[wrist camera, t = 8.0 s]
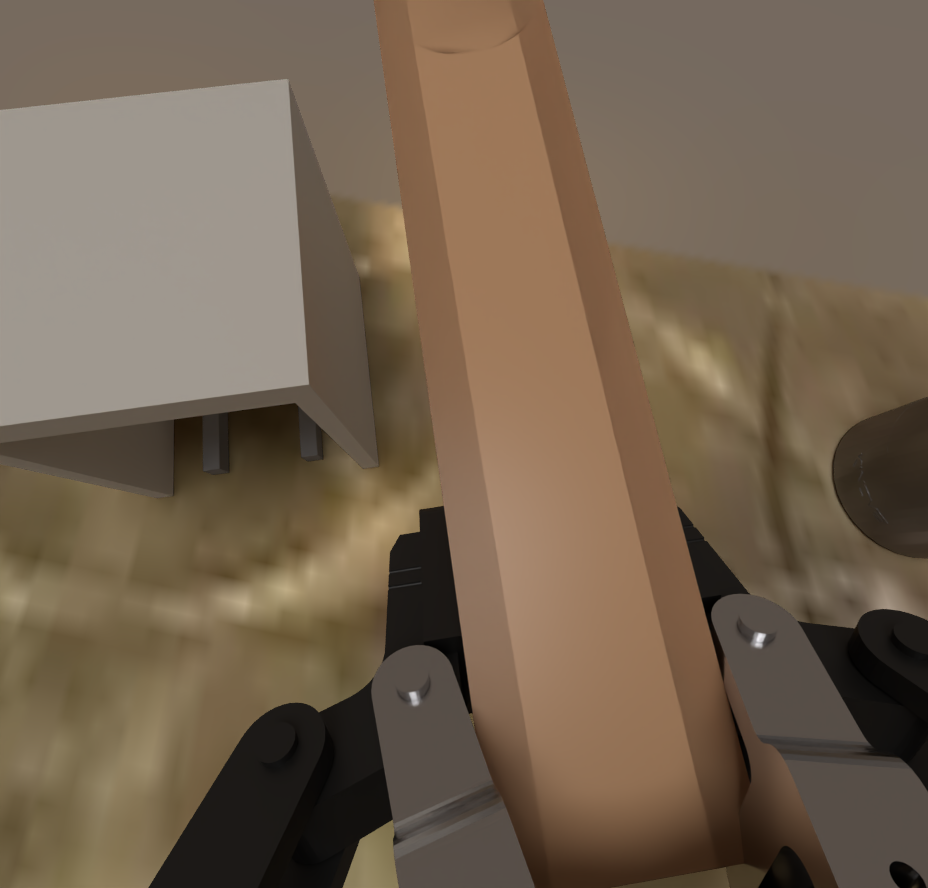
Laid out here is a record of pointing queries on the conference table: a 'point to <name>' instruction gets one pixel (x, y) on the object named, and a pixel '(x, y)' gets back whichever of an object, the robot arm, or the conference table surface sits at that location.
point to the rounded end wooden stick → (552, 467)
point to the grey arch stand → (171, 284)
